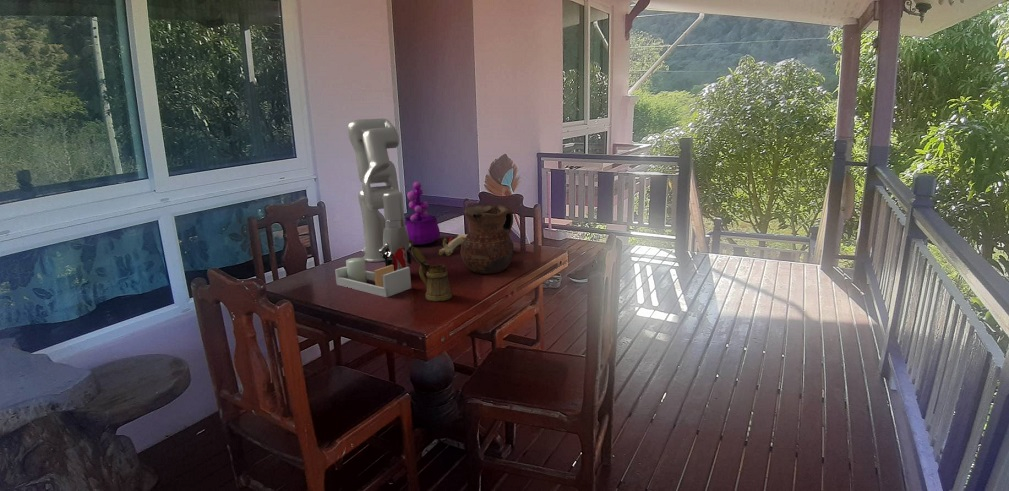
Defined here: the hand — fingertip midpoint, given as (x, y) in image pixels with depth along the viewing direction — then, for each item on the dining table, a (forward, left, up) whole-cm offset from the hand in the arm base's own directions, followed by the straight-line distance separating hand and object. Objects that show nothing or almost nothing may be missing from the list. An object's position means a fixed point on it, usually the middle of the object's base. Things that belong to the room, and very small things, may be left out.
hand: (398, 266), depth 231 cm
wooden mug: (+30, -12, -4) cm, 33 cm away
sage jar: (-7, -15, -4) cm, 17 cm away
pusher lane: (+3, -15, -4) cm, 16 cm away
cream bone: (-9, +44, -4) cm, 45 cm away
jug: (+25, +25, -4) cm, 36 cm away
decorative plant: (-31, +43, -4) cm, 53 cm away
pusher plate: (+9, -15, -4) cm, 18 cm away
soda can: (0, 0, -4) cm, 4 cm away
